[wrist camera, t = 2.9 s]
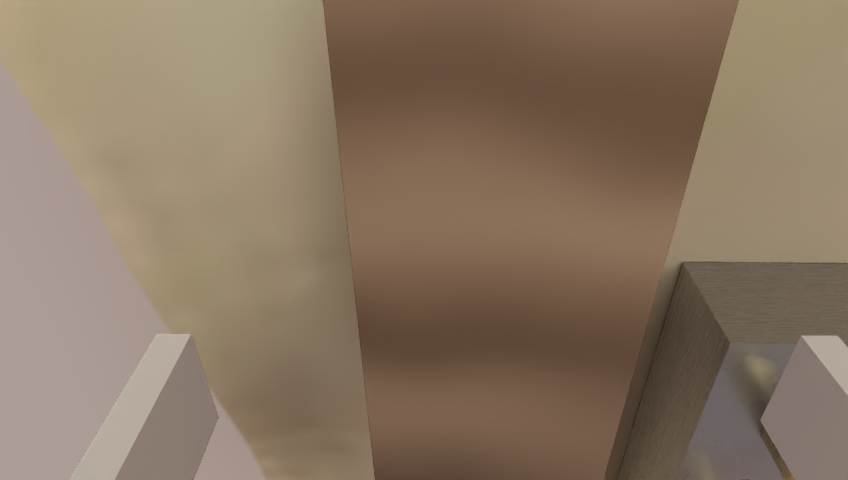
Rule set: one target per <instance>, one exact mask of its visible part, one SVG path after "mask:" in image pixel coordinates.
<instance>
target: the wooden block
mask: <svg viewBox="0 0 848 480" xmlns="http://www.w3.org/2000/svg"><path fill="white" fill-rule="evenodd" d="M738 1H739V0H323V6H324V15H325V25H326V34H327V43H328V52H329V61H330V70H331V80H332V89H333V98H334V107H335V116H336V125H337V135H338V144H339V153H340V162H341V171H342V180H343V190H344V199H345V208H346V217H347V226H348V235H349V245H350V254H351V263H352V272H353V281H354V291H355V300H356V309H357V318H358V327H359V336H360V346H361V355H362V364H363V373H364V382H365V391H366V401H367V410H368V419H369V428H370V437H371V446H372V456H373V465H374V474H375V480H604V476H605V473H606V469H607V465H608V462H609V458H610V455H611V451H612V448H613V444H614V441H615V437H616V434H617V430H618V426H619V423H620V419H621V416H622V412H623V409H624V405H625V402H626V398H627V395H628V391H629V387H630V384H631V380H632V377H633V373H634V370H635V366H636V363H637V359H638V356H639V352H640V348H641V345H642V341H643V338H644V334H645V331H646V327H647V324H648V320H649V316H650V313H651V309H652V306H653V302H654V299H655V295H656V292H657V288H658V285H659V281H660V277H661V274H662V270H663V267H664V263H665V260H666V256H667V253H668V249H669V246H670V242H671V238H672V235H673V231H674V228H675V224H676V221H677V217H678V214H679V210H680V207H681V203H682V199H683V196H684V192H685V189H686V185H687V182H688V178H689V175H690V171H691V168H692V164H693V160H694V157H695V153H696V150H697V146H698V143H699V139H700V136H701V132H702V128H703V125H704V121H705V118H706V114H707V111H708V107H709V104H710V100H711V97H712V93H713V89H714V86H715V82H716V79H717V75H718V72H719V68H720V65H721V61H722V58H723V54H724V50H725V47H726V43H727V40H728V36H729V33H730V29H731V26H732V22H733V19H734V15H735V11H736V8H737V4H738Z"/></svg>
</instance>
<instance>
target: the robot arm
mask: <svg viewBox="0 0 848 480" xmlns="http://www.w3.org/2000/svg"><path fill="white" fill-rule="evenodd" d="M217 420H218V414H217V411H216V408H215V405H214V402H213V399H212V396H211V393H210V390H209V387H208V383H207V380H206V377H205V374H204V371H203V368H202V365H201V362H200V359H199V356H198V353H197V350H196V347H195V344H194V341H193V338H192V335H191V334H156V336H155V337H154V339H153V341H152V342H151V344H150V346H149V347H148V349H147V351H146V352H145V354H144V356H143V357H142V359H141V361H140V362H139V364H138V366H137V367H136V369H135V371H134V372H133V374H132V376H131V377H130V379H129V381H128V382H127V384H126V386H125V387H124V389H123V391H122V392H121V394H120V396H119V397H118V399H117V401H116V402H115V404H114V406H113V408H112V409H111V411H110V412H109V414H108V416H107V417H106V419H105V421H104V422H103V424H102V426H101V427H100V429H99V431H98V432H97V434H96V436H95V437H94V439H93V441H92V442H91V444H90V446H89V447H88V449H87V451H86V452H85V454H84V456H83V457H82V459H81V461H80V462H79V464H78V466H77V467H76V469H75V471H74V472H73V474H72V476H71V477H70V479H69V480H194V477H195V475H196V472H197V470H198V467H199V465H200V462H201V460H202V457H203V455H204V452H205V450H206V447H207V445H208V442H209V440H210V437H211V435H212V432H213V430H214V427H215V425H216V422H217ZM760 421H761V423H762V424H763V426H764V428H765V430H766V431H767V433H768V435H769V436H770V438H771V440H772V442H773V443H774V445H775V447H776V448H777V450H778V452H779V454H780V455H781V457H782V459H783V460H784V462H785V464H786V466H787V467H788V469H789V471H790V472H791V474H792V476H793V478H794V479H795V480H848V347H847V346H846V345H845V344H844V342H843V341H842V340H841V339H840V338H839V337H838V336H801V337H800V339H799V341H798V343H797V345H796V347H795V349H794V351H793V353H792V355H791V357H790V360H789V362H788V364H787V366H786V368H785V370H784V372H783V374H782V376H781V378H780V380H779V382H778V384H777V387H776V389H775V391H774V393H773V395H772V397H771V399H770V401H769V403H768V405H767V407H766V409H765V411H764V413H763V416H762V418H761V420H760Z"/></svg>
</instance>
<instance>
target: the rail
mask: <svg viewBox="0 0 848 480" xmlns="http://www.w3.org/2000/svg"><path fill="white" fill-rule="evenodd" d="M801 336H838V337H839V338H840V339H841V340H842V341H843V342H844V344H845V345H846V346H847V347H848V264H825V263H713V262H683V264H682V268H681V271H680V274H679V278H678V281H677V284H676V287H675V291H674V294H673V297H672V301H671V304H670V307H669V310H668V314H667V317H666V320H665V323H664V327H663V330H662V333H661V337H660V340H659V343H658V346H657V350H656V353H655V356H654V360H653V363H652V366H651V369H650V373H649V376H648V379H647V383H646V386H645V389H644V392H643V396H642V399H641V402H640V405H639V409H638V412H637V415H636V419H635V422H634V425H633V428H632V432H631V435H630V438H629V442H628V445H627V448H626V451H625V455H624V458H623V461H622V465H621V468H620V471H619V474H618V478H617V480H795V479H794V478H793V476H792V474H791V472H790V471H789V469H788V467H787V466H786V464H785V462H784V460H783V459H782V457H781V455H780V454H779V452H778V450H777V448H776V447H775V445H774V443H773V442H772V440H771V438H770V436H769V435H768V433H767V431H766V430H765V428H764V426H763V424H762V423H761V421H760V420H761V418H762V416H763V413H764V411H765V409H766V407H767V405H768V403H769V401H770V399H771V397H772V395H773V393H774V391H775V389H776V387H777V384H778V382H779V380H780V378H781V376H782V374H783V372H784V370H785V368H786V366H787V364H788V362H789V360H790V357H791V355H792V353H793V351H794V349H795V347H796V345H797V343H798V341H799V339H800V337H801Z"/></svg>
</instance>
